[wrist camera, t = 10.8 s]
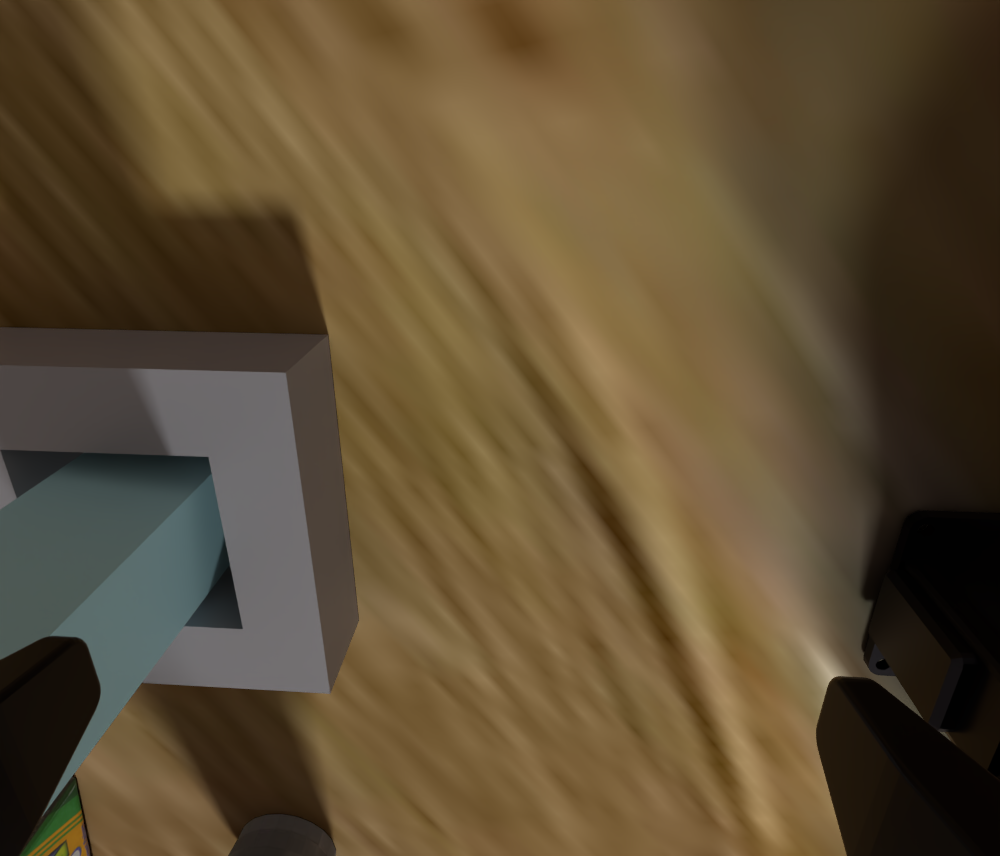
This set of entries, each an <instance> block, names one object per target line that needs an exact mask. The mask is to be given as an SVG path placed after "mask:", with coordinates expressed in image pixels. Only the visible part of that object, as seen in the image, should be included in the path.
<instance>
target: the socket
mask: <svg viewBox="0 0 1000 856" xmlns="http://www.w3.org/2000/svg"><path fill="white" fill-rule="evenodd" d="M83 453H111V454H140V455H169V456H197V457H209V462H210V467H211V472H212V477H213V482H214V487H215V492H216V497H217V502H218V507H219V512H220V517H221V522H222V527H223V532H224V537H225V542H226V547H227V552H228V557H229V562H230V565H229V566H228V568H227V569H226V570H225V572H224V573H223V574H222V576H221V577H220V578H219V580H218V581H217V583H216V584H215V585H214V587H213V588H212V589H211V591H210V592H209V593H208V595H207V596H206V597H205V599H204V600H203V601H202V603H201V604H200V605H199V607H198V608H197V609H196V611H195V612H194V613H193V615H192V616H191V617H190V619H189V620H188V621H187V623H186V624H185V625H184V627H183V628H182V629H181V631H180V632H179V634H178V635H177V636H176V638H175V639H174V640H173V642H172V643H171V644H170V646H169V647H168V648H167V650H166V651H165V652H164V654H163V655H162V656H161V658H160V659H159V660H158V662H157V663H156V664H155V666H154V667H153V668H152V670H151V671H150V672H149V674H148V675H147V676H146V678H145V679H144V680H143V682H142V683H153V684H170V685H188V686H205V687H223V688H240V689H258V690H275V691H293V692H310V693H328V694H330V693H331V690H332V688H333V685H334V683H335V680H336V678H337V675H338V672H339V670H340V667H341V665H342V662H343V660H344V657H345V655H346V652H347V650H348V647H349V644H350V642H351V639H352V637H353V634H354V632H355V629H356V627H357V624H358V621H359V618H358V608H357V599H356V590H355V580H354V571H353V562H352V553H351V543H350V534H349V525H348V515H347V506H346V497H345V488H344V478H343V469H342V460H341V450H340V441H339V432H338V423H337V413H336V404H335V395H334V385H333V376H332V367H331V357H330V348H329V339H328V335H319V334H276V333H232V332H188V331H144V330H100V329H57V328H13V327H0V510H1V509H2V508H3V507H5V506H6V505H8V504H9V503H11V502H12V501H14V500H15V499H17V498H18V497H20V496H21V495H23V494H24V493H25V492H27V491H28V490H30V489H31V488H33V487H34V486H36V485H37V484H39V483H40V482H42V481H43V480H45V479H46V478H48V477H49V476H50V475H52V474H53V473H55V472H56V471H58V470H59V469H61V468H62V467H64V466H65V465H67V464H68V463H70V462H71V461H73V460H74V459H75V458H77V457H78V456H80V455H81V454H83Z"/></svg>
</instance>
